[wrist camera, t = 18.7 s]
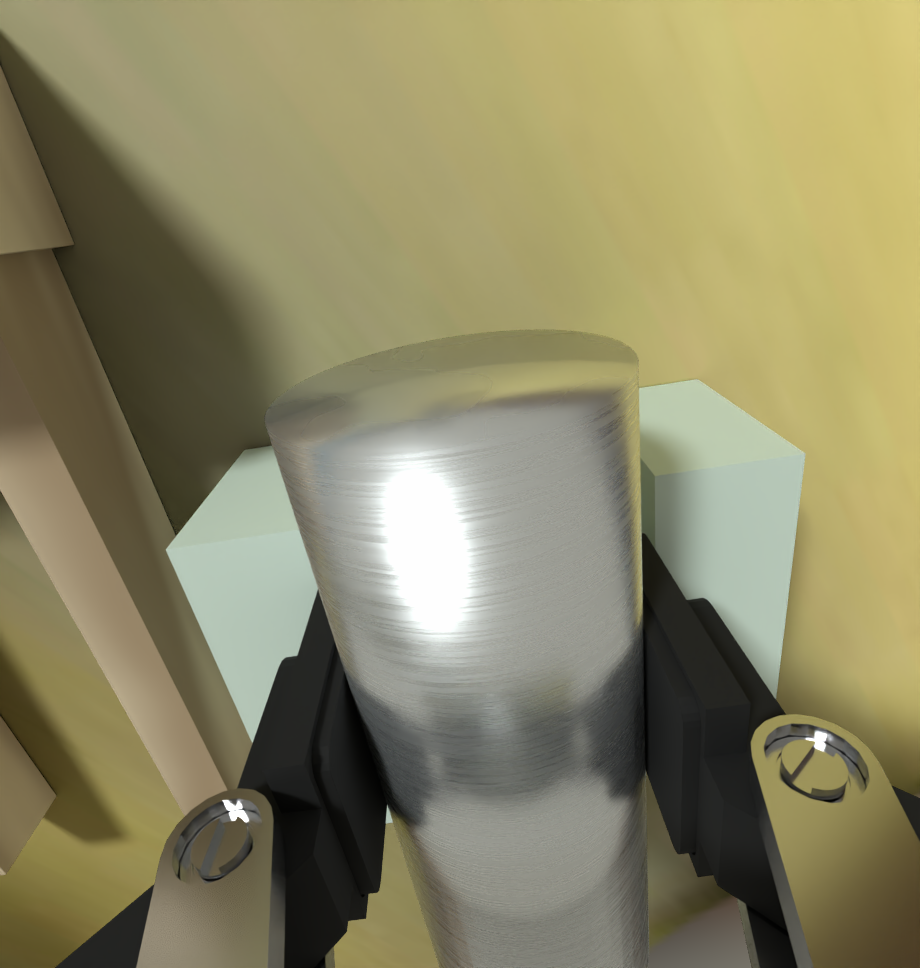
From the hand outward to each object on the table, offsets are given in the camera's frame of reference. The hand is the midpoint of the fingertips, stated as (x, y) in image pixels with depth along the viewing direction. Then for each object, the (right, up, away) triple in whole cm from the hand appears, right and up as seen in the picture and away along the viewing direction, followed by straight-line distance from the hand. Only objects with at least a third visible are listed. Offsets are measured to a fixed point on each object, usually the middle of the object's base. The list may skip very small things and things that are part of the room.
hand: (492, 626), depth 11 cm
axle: (0, 0, +1) cm, 1 cm away
